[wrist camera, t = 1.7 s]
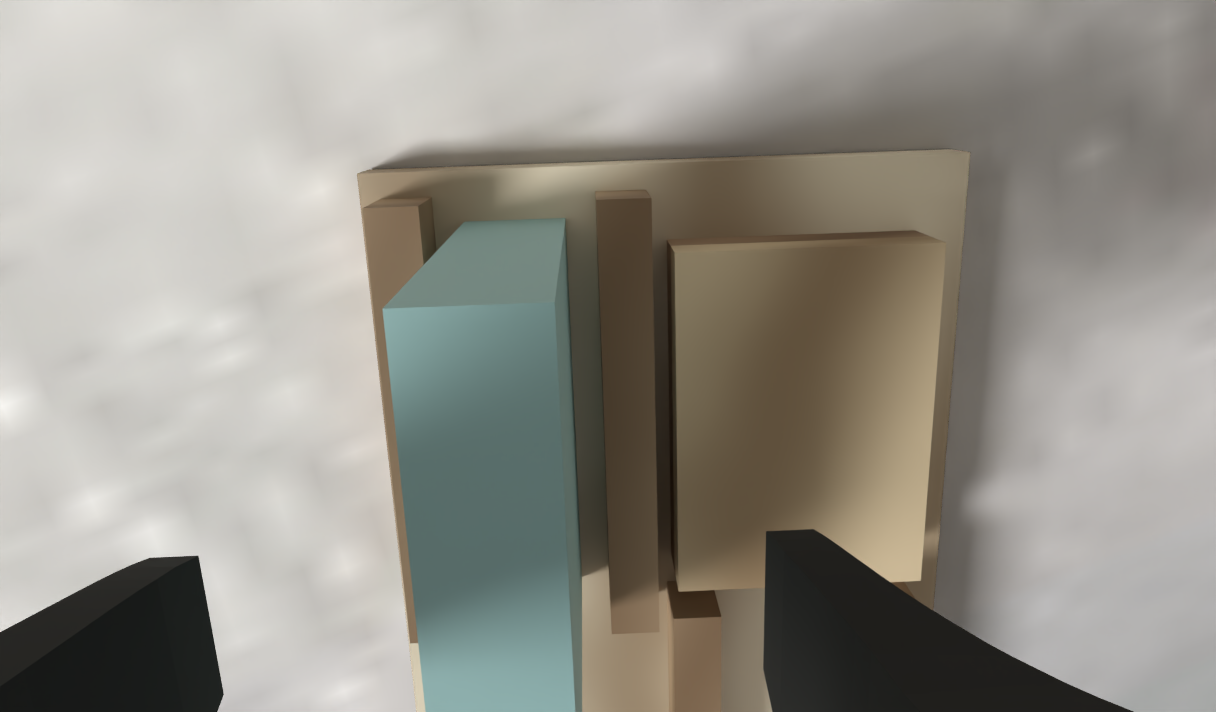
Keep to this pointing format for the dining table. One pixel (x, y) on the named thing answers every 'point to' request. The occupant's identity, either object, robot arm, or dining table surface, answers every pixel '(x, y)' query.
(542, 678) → the teal panel
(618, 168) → the rack
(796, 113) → the dining table surface
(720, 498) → the oak offcut
